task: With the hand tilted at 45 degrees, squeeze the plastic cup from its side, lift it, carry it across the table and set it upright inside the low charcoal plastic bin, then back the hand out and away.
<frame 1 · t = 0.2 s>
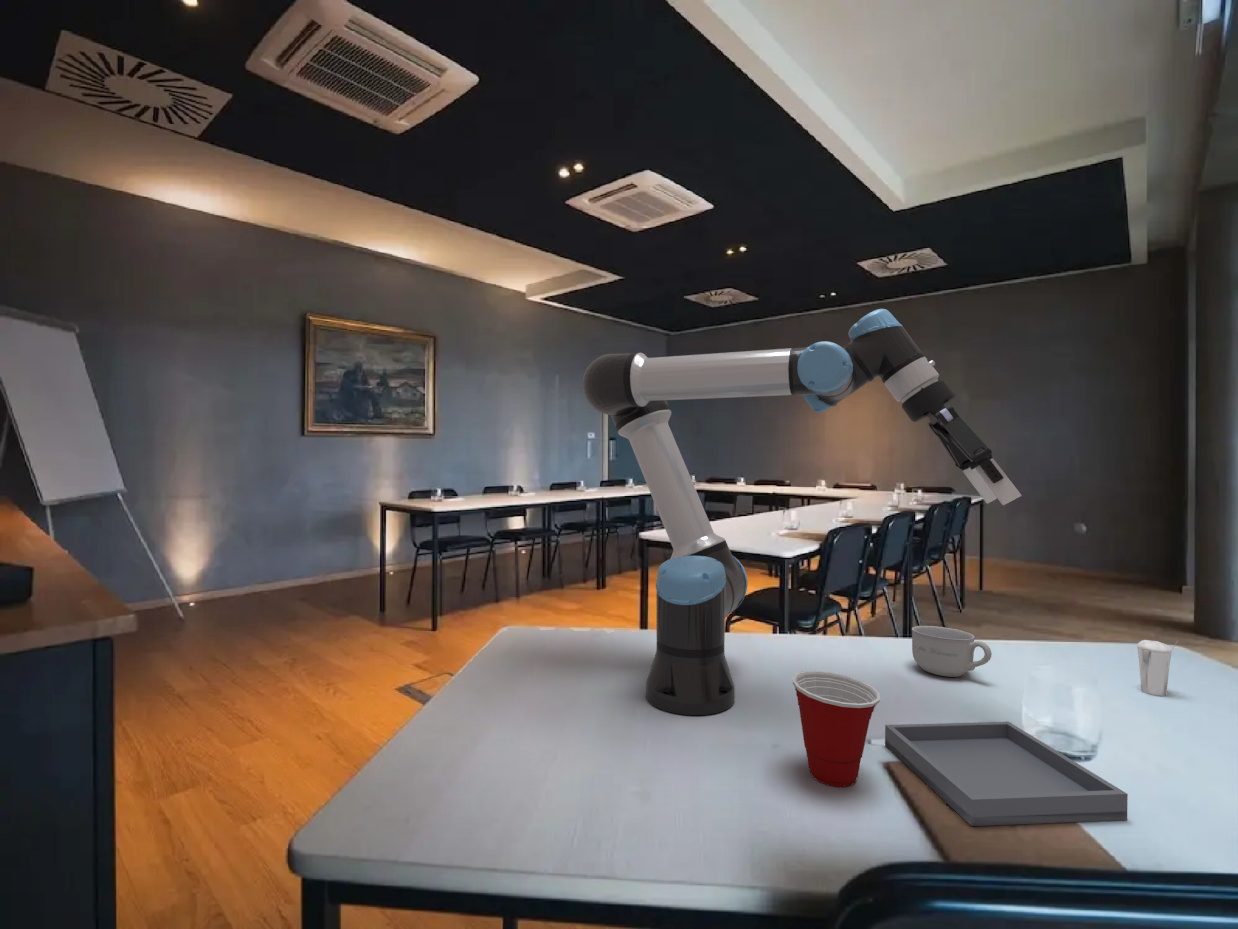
hand: (1003, 500, 93), 35 cm above the table, tool tilted 35°, fingers open, 13 cm apart
milkshake: (1156, 694, 104), on the table
teacup: (949, 675, 113), on the table
plastic cup: (834, 777, 76), on the table
bin: (992, 778, 76), on the table
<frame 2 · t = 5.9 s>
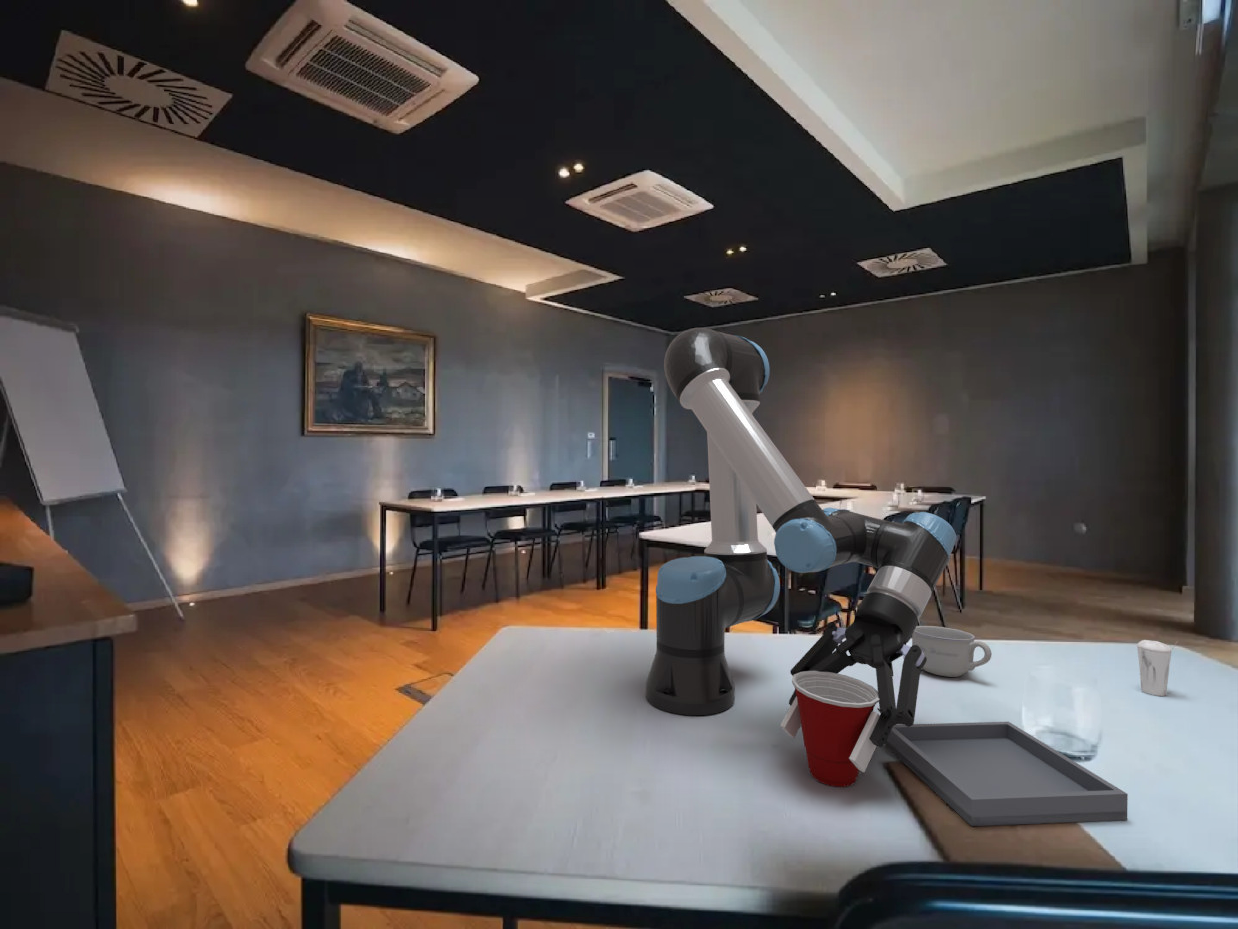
hand: (819, 747, 75), 4 cm above the table, tool tilted 45°, fingers closed on plastic cup, 10 cm apart
plastic cup: (834, 777, 76), on the table, touching gripper
everything else where it was.
when the fingers open (7 cm above the table, at t = 11.8 s): plastic cup moves 3 cm, resting on bin.
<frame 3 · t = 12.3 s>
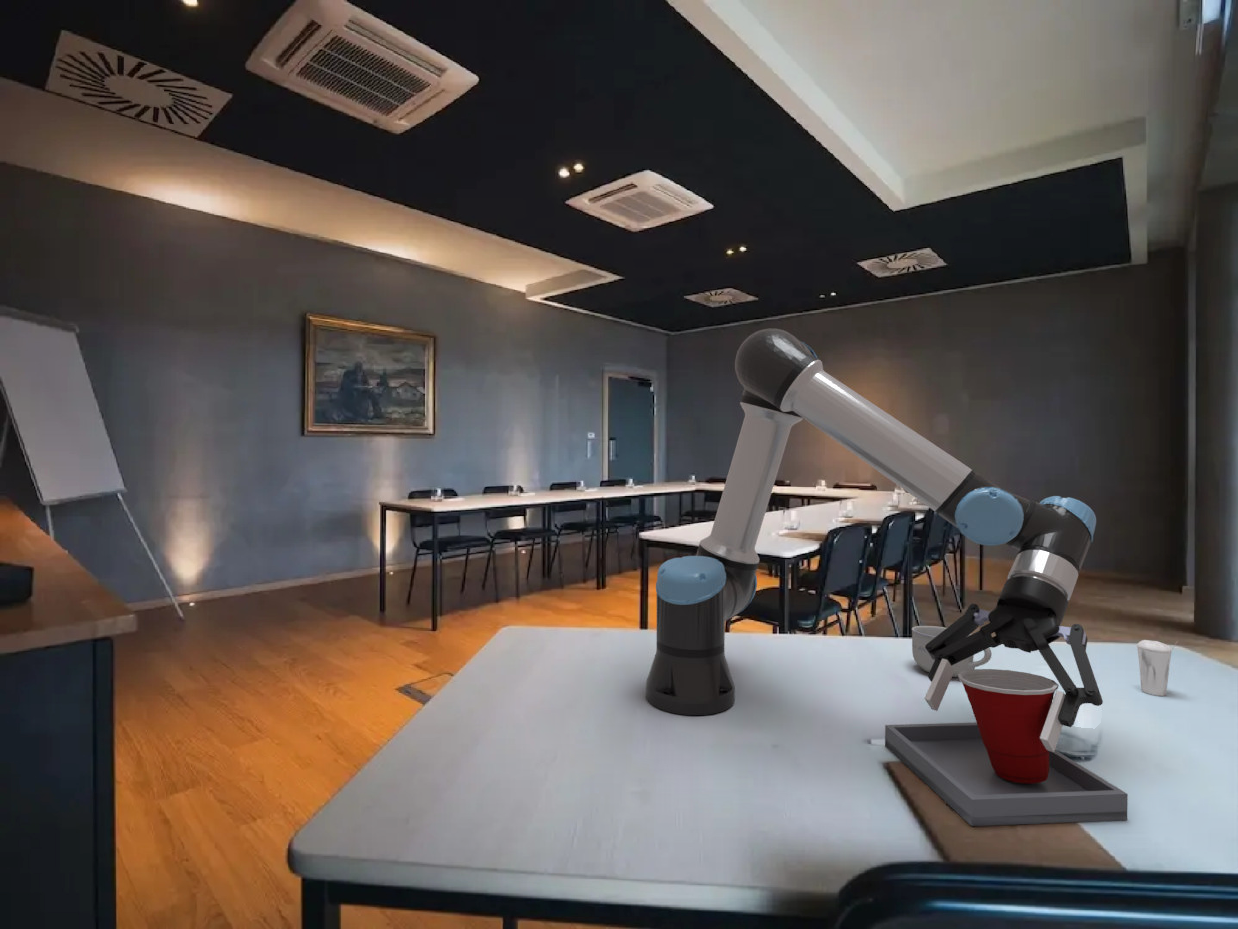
hand: (984, 724, 74), 8 cm above the table, tool tilted 45°, fingers open, 13 cm apart
plastic cup: (1023, 775, 74), point 1 cm above the table, touching bin, gripper
everything else where it was.
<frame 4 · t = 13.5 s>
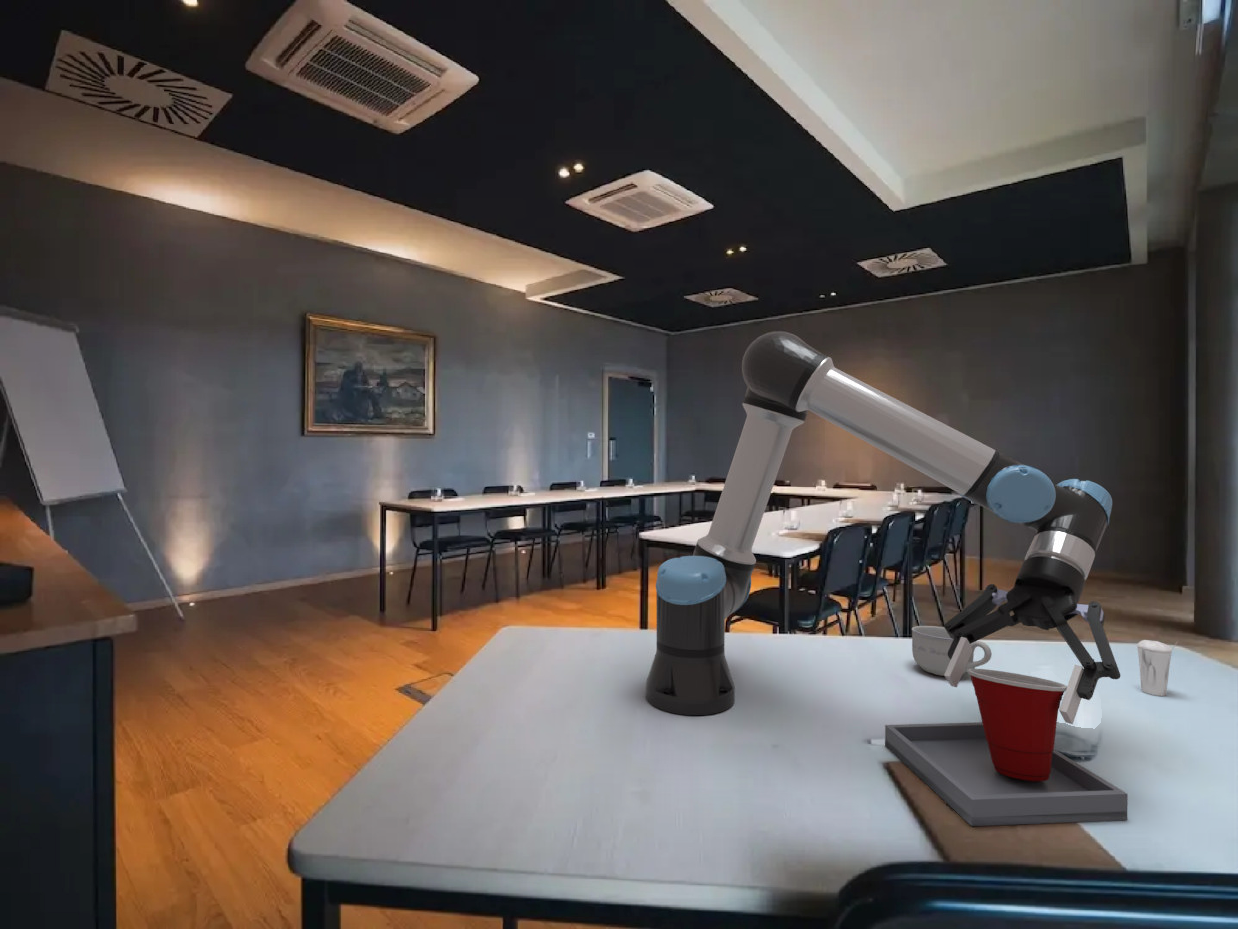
hand: (1003, 698, 76), 10 cm above the table, tool tilted 45°, fingers open, 13 cm apart
plastic cup: (1023, 775, 74), point 1 cm above the table, touching bin
everything else where it was.
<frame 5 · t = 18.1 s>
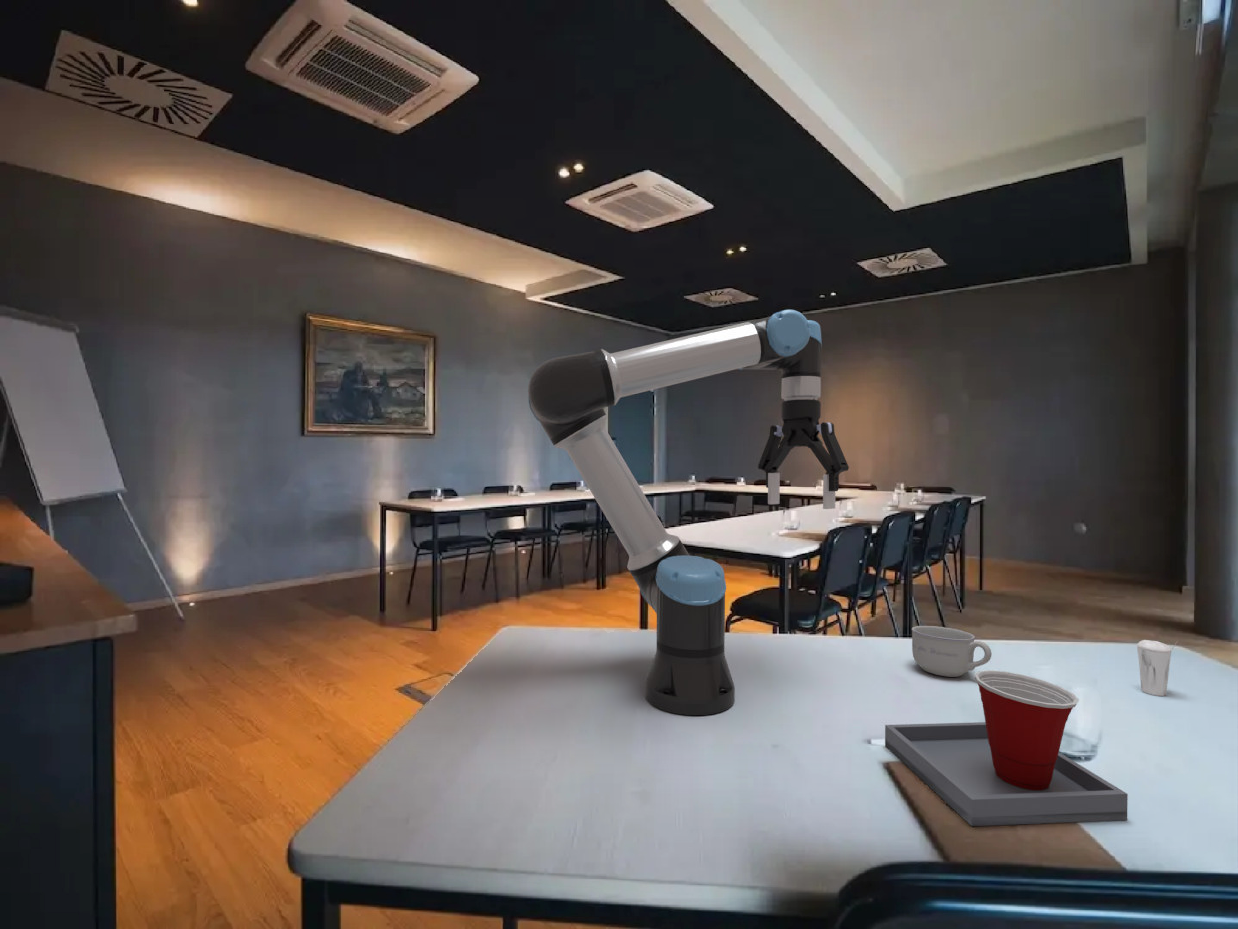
hand: (800, 506, 118), 32 cm above the table, tool pointing down, fingers open, 13 cm apart
at the end: plastic cup inside the target area on the bin (3.4 cm from its centre), point 0.8 cm above the bin's base; plastic cup tilted 0°; the gripper is holding nothing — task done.
